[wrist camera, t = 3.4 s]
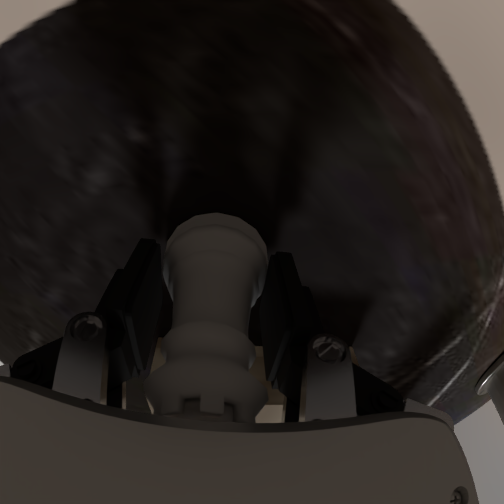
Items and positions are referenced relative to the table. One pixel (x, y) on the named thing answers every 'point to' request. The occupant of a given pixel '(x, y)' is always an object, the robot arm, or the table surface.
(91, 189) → the table surface
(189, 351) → the rook chess piece
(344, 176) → the table surface
